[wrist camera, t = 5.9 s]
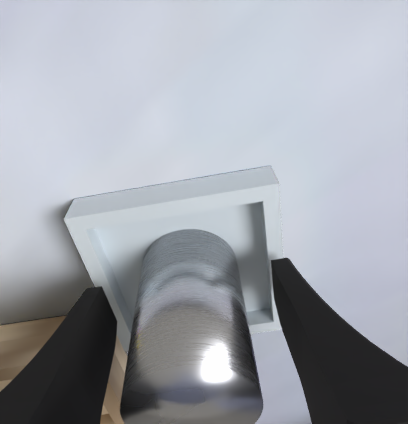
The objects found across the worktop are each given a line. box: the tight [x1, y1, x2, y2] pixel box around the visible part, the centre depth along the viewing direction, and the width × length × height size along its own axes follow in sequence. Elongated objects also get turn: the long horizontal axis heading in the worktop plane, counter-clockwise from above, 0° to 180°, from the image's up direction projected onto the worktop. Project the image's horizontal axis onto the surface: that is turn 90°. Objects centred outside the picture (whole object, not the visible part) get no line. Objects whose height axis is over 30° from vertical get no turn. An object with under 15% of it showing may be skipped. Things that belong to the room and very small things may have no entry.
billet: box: [120, 229, 263, 424], centre depth 13 cm, size 4×4×6 cm
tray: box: [64, 166, 284, 352], centre depth 15 cm, size 8×8×1 cm
